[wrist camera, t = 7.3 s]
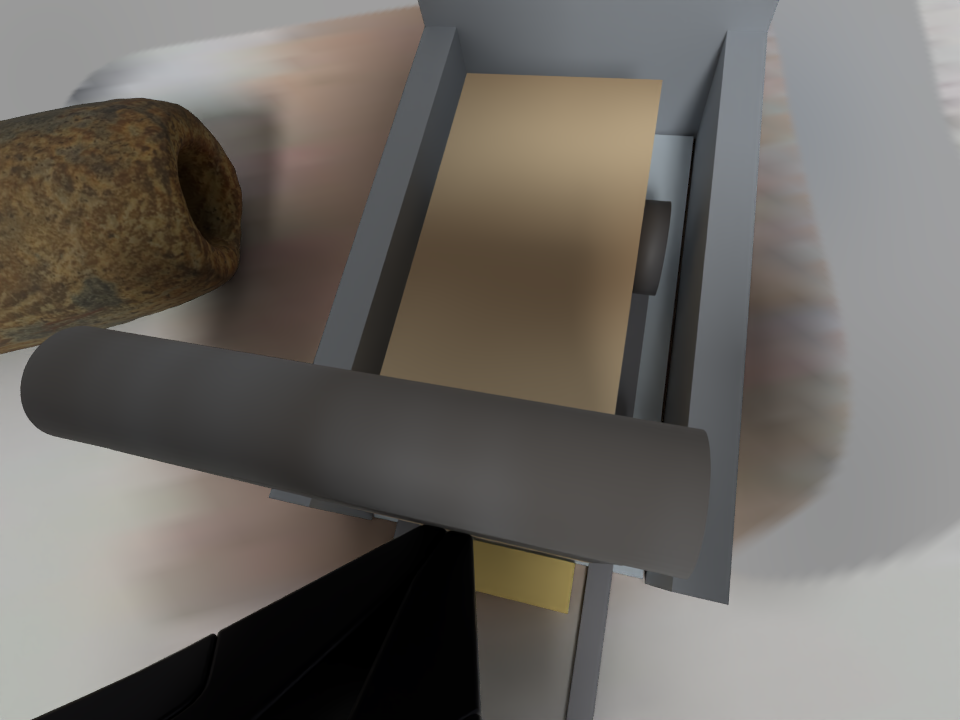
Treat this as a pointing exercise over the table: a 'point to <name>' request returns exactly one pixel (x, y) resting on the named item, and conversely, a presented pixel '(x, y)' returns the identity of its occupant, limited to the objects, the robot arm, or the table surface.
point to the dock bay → (700, 305)
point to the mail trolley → (452, 355)
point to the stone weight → (110, 216)
